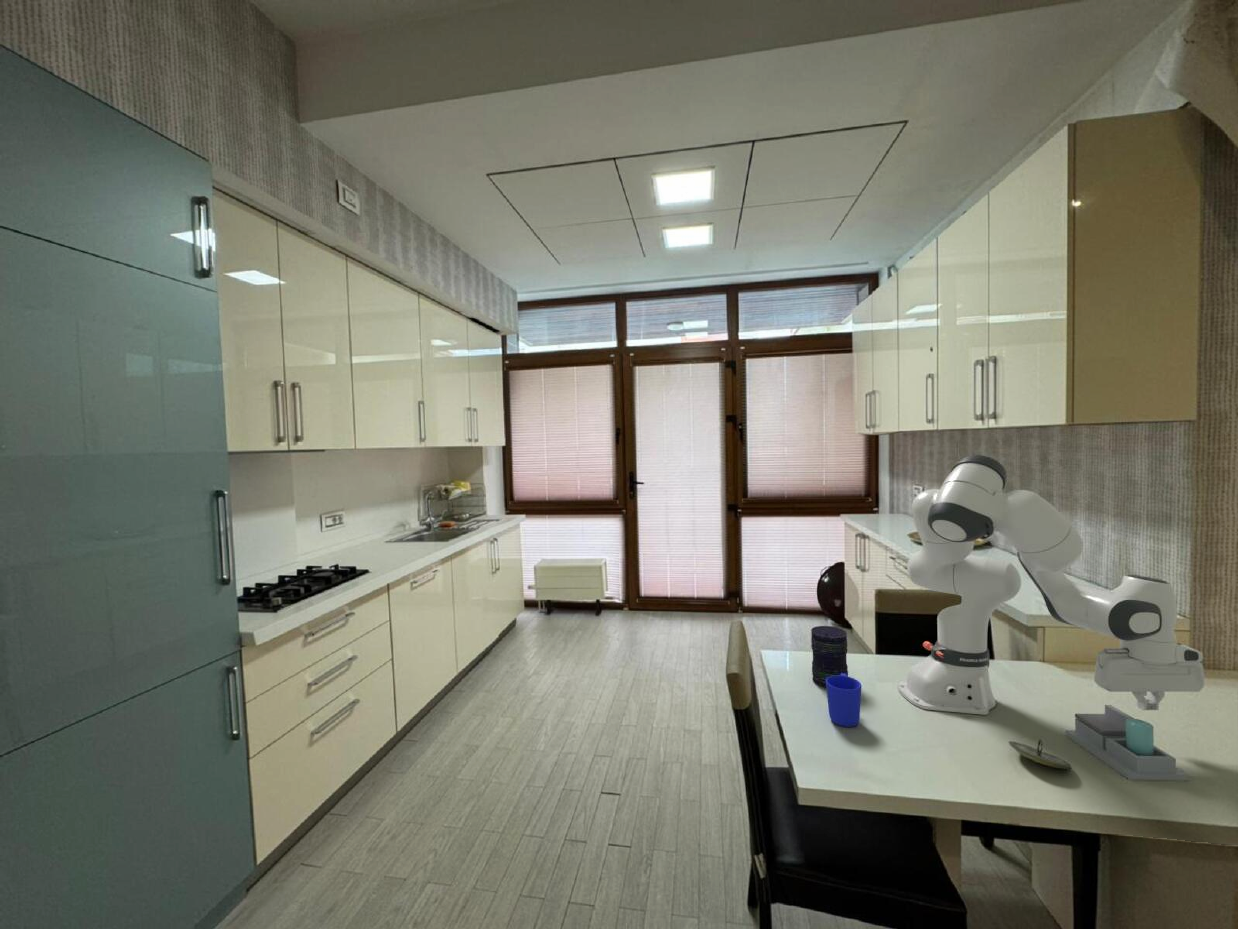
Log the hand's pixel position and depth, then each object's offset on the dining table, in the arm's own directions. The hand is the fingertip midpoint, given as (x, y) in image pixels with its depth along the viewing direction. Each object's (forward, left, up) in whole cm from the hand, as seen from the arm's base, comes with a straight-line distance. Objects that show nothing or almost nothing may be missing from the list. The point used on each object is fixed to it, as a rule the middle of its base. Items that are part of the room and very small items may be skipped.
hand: (1147, 709), depth 113 cm
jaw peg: (-9, -9, -6) cm, 14 cm away
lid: (-28, -8, -8) cm, 31 cm away
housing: (-9, -5, -8) cm, 13 cm away
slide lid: (-10, -1, -4) cm, 10 cm away
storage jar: (-59, +30, -8) cm, 67 cm away
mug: (-62, +10, -8) cm, 64 cm away
